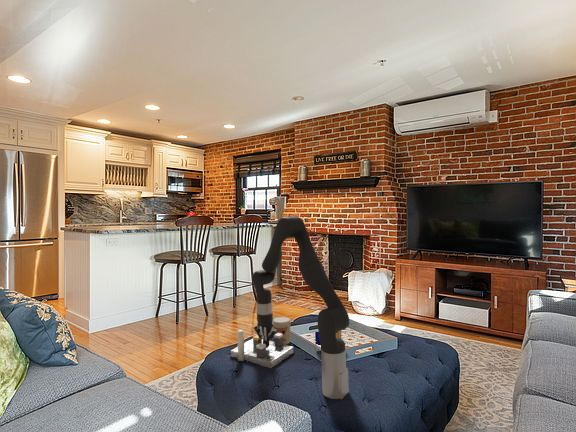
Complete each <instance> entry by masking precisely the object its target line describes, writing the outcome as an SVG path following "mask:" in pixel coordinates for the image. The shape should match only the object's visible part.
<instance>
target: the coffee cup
mask: <svg viewBox="0 0 576 432" xmlns="http://www.w3.org/2000/svg"><path fill="white" fill-rule="evenodd" d="M291 322H292V321H291V319H290V317H287V316H277V317H275V318H274V317H273V322H272V324H273V328H274V329H277V332H276V334H277V333H281V334H283V344H285V345H289V344H290V342H291Z"/></svg>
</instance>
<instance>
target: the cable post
mask: <svg viewBox="0 0 576 432" xmlns="http://www.w3.org/2000/svg"><path fill="white" fill-rule="evenodd" d="M244 331H245V330H243V329H239V330H237V331H236V334H237V347H238V358H237V362H239V361H244V360H245V358H244V354H245V351H244V343H245V333H244ZM244 362H245V361H244Z"/></svg>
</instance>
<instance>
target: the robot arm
mask: <svg viewBox="0 0 576 432" xmlns="http://www.w3.org/2000/svg"><path fill="white" fill-rule="evenodd" d="M287 239H294V240H295V241H296V244H297V246H298V248H299V249H298V250H299V252H298V253H299V255H298V263H297V265H298V270H299V272H300V274H301V277H302V278H303V281H304V282H305V285H307V286H308V287H309V288H310V289H311V290H312V291H314V292H315V293H317V295H318V296H319V297H320V298H321V299H322V300H323V302H324V303H325V306H326V307H327V308H324V309H322V310H319V312H318V314H317V330H318V333H319V341H320V344H321V352H320V353H321V355H320V356H321V358H320V359H321V361H320V362H321V382H322V384H321V385H322V388H321V389H322V394H323V396H324V397H326V398H328V399H330V400H331V399H332V400H343V399H344V398H345V397H346V396H347V395H348V394H349V392H350V391H349V389H350V388H349V368H348V367H347V365H346V364H347V363H346V360H347V359H346V342H345V340H343V339H339V338H336V332H338V331H341V332H342V331H343V330H345V329H347V328H348V327H349V325H350V317H349V313H348V311H347V309H346V308H345V306H344V304H343V302H342V301H341V299H340V297H339V295H338V294H337V293H336V291H335V289H334V287H333V285H332V283H331V281H330V279H329V277H328V276H327V272H326V271H325V268H324V267H323V264H322V263H321V262H322V261H321V260H320V258H319V256H318V254H317V253H316V250H315V248H314V246H313V244H312V240H311V238H310V235H309V232H308V229H307V227H306V225H305V222H304V220H303V219H302V218H301V217H299V216H296V215H295V216H294V215H293V216H282V217H280V218H279V219H278V221H277V223H276V225H275V228H274V232H273V235H272V238H271V242H270V245H269V248H268V250H267V253H266V255H265V257H264V259H263V261H262V263H261V268H262V269H260V270H256V271H254V272H253V274H252V276H251V281H252V284H253V288H254V291H255V295H256V320H257V321H256V322H257V325H255V326H254V327H253V329H254V331H255V334H256V335H258V336H259V338H262V340H263V344H266V348H268V347H269V341H271V340H272V339H274V335H275V334H276V332H277V329H274V328H273V319H274V316H273V303H272V302H273V301H272V300H273V299H272V291H271V290H270V289H268V288H264V285H269V284H271V283H273V281H274V280H275V279H276V278H275V277H276V273H277V268H278V267H279V265H280V263H281V261H282V257H283V251H282V250H283V249H282V245H283V243H284V242H285V241H286V240H287Z"/></svg>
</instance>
